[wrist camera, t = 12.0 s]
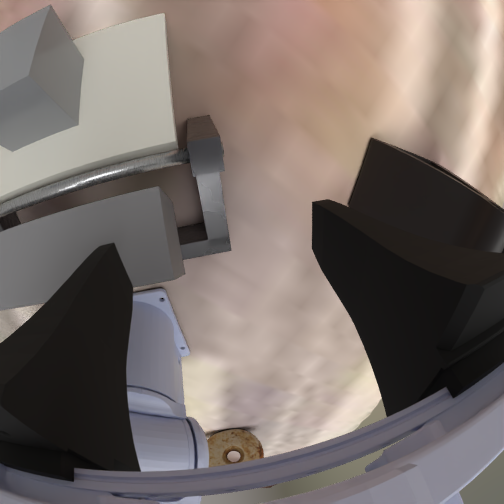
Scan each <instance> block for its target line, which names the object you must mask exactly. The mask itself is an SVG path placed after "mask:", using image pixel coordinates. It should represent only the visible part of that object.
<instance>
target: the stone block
mask: <svg viewBox="0 0 504 504" xmlns="http://www.w3.org/2000/svg"><path fill="white" fill-rule="evenodd" d="M83 66H84V58H83V56H82V55H81V53H80V52H79V50H78V49H77V47H76V45H75V44H74V42H73V40H72V39H71V37H70V36H69V34H68V32H67V31H66V29H65V27H64V26H63V24H62V23H61V21H60V19H59V18H58V16H57V14H56V13H55V11H54V9H53V7H52V6H51V5H49V6H47V7H45V8H43V9H41V10H39V11H37V12H35V13H33V14H31V15H29V16H28V17H26V18H24V19H22V20H20V21H19V22H17V23H15V24H14V25H12V26H10V27H9V28H7V29H5V30H4V31H2V32H1V33H0V146H2V147H4V148H6V149H8V150H10V151H12V152H14V151H16V150H18V149H20V148H22V147H25V146H27V145H29V144H31V143H34V142H36V141H38V140H41V139H43V138H46V137H48V136H51V135H53V134H56V133H58V132H61V131H64V130H66V129H69V128H72V127H75V126H78V125H79V108H80V94H81V83H82V74H83Z"/></svg>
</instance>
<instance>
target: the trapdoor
mask: <svg viewBox="0 0 504 504" xmlns="http://www.w3.org/2000/svg"><path fill="white" fill-rule="evenodd" d="M73 42H74V44H75V45H76V47H77V49H78V50H79V52H80V53H81V55H82V56H83V58H84V66H83V74H82V83H81V94H80V108H79V125H78V126H75V127H72V128H69V129H66V130H64V131H61V132H58V133H56V134H53V135H51V136H48V137H46V138H43V139H41V140H38V141H36V142H34V143H31V144H29V145H27V146H25V147H22V148H20V149H18V150H16V151H14V152H12V151H10V150H8V149H6V148H4V147H2V146H0V204H1V203H3V202H6V201H8V200H10V199H13V198H15V197H18V196H20V195H23V194H25V193H28V192H30V191H33V190H36V189H38V188H41V187H44V186H46V185H49V184H52V183H55V182H58V181H61V180H64V179H67V178H70V177H73V176H76V175H79V174H82V173H85V172H89V171H92V170H95V169H99V168H102V167H106V166H109V165H113V164H117V163H120V162H124V161H128V160H132V159H136V158H140V157H144V156H148V155H153V154H157V153H162V152H166V151H171V150H176V149H179V148H178V140H177V133H176V125H175V116H174V108H173V98H172V89H171V79H170V68H169V56H168V43H167V28H166V19H165V14H164V13H162V14H157V15H152V16H148V17H144V18H140V19H136V20H132V21H128V22H125V23H121V24H118V25H115V26H111V27H108V28H105V29H102V30H99V31H96V32H93V33H91V34H88V35H85V36H82V37H80V38H77V39H75V40H73ZM109 243H115V246H116V248H117V251H118V253H119V255H120V258H121V260H122V262H123V265H124V267H125V269H126V272H127V274H128V276H129V278H130V281H131V283H132V285H133V287H138V286H144V285H149V284H154V283H160V282H165V281H171V280H175V279H177V278H179V277H181V276H182V275H184V274H185V269H184V264H183V259H182V254H181V248H180V243H179V237H178V231H177V225H176V219H175V213H174V207H173V202H172V201H171V200H170V199H169V198H168V196H167V195H166V194H165V193H164V192H163V191H162V189H161V188H160V187H159V186H157V187H152V188H148V189H143V190H139V191H135V192H131V193H127V194H123V195H119V196H115V197H111V198H107V199H103V200H99V201H96V202H92V203H88V204H85V205H81V206H78V207H74V208H71V209H68V210H64V211H61V212H58V213H54V214H51V215H48V216H45V217H42V218H39V219H36V220H33V221H30V222H27V223H24V224H21V225H18V226H15V227H12V228H10V229H7V230H4V231H1V232H0V310H6V309H13V308H19V307H25V306H30V305H36V304H42V303H46V302H47V301H48V300H49V299H50V298H51V297H52V296H53V294H54V293H55V292H56V291H57V290H58V289H59V288H60V287H61V286H62V285H63V284H64V283H65V281H66V280H67V279H68V278H69V277H70V276H71V275H72V274H73V272H74V271H75V270H76V269H77V268H78V267H79V266H80V265H81V264H82V263H83V261H84V260H85V259H86V258H87V257H88V256H89V255H90V254H91V253H92V252H93V251H94V250H95V249H96V248H98V247H99V246H101V245H105V244H109Z"/></svg>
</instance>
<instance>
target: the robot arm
mask: <svg viewBox="0 0 504 504" xmlns="http://www.w3.org/2000/svg"><path fill="white" fill-rule="evenodd" d="M312 250H313V252H314V254H315V257H316V259H317V261H318V263H319V265H320V268H321V270H322V271H323V273H324V275H325V276H326V278H327V280H328V281H329V283H330V284H331V286H332V288H333V289H334V291H335V292H336V294H337V296H338V297H339V299H340V300H341V302H342V304H343V305H344V307H345V308H346V310H347V312H348V313H349V315H350V317H351V319H352V321H353V323H354V325H355V327H356V329H357V332H358V334H359V336H360V338H361V341H362V343H363V345H364V348H365V350H366V353H367V355H368V358H369V361H370V363H371V366H372V369H373V372H374V375H375V378H376V380H377V383H378V386H379V390H380V393H381V397H382V400H383V404H384V407H385V411H386V415H387V418H384V419H382V420H380V421H378V422H375V423H373V424H370V425H368V426H366V427H363V428H361V429H358V430H355V431H353V432H350V433H347V434H345V435H342V436H339V437H336V438H333V439H330V440H327V441H324V442H321V443H318V444H315V445H312V446H308V447H305V448H301V449H298V450H294V451H290V452H286V453H283V454H278V455H274V456H270V457H266V458H261V459H256V460H251V461H246V462H240V463H234V464H228V465H222V466H214V467H209V450H208V443H207V439H206V436H205V433H204V431H203V429H202V428H201V426H200V425H199V423H198V422H197V421H196V420H195V419H194V418H192V417H186V409H185V405H184V390H183V378H182V363H181V357H184V356H188V355H190V350H189V348H188V345H187V343H186V341H185V338H184V336H183V333H182V331H181V329H180V326H179V324H178V321H177V319H176V316H175V314H174V311H173V309H172V306H171V303H170V301H169V298H168V295H167V293H166V291H165V290H164V289H154V290H148V291H143V292H137V293H133V285H132V283H131V281H130V278H129V276H128V274H127V272H126V269H125V267H124V265H123V262H122V260H121V258H120V255H119V253H118V251H117V248H116V246H115V243H109V244H105V245H101V246H99V247H98V248H96V249H95V250H94V251H93V252H92V253H91V254H90V255H89V256H88V257H87V258H86V259H85V260H84V261H83V263H82V264H81V265H80V266H79V267H78V268H77V269H76V270H75V271H74V272H73V274H72V275H71V276H70V277H69V278H68V279H67V280H66V281H65V283H64V284H63V285H62V286H61V287H60V288H59V289H58V290H57V291H56V292H55V293H54V294H53V296H52V297H51V298H50V299H49V300H48V301H47V302H46V303H45V304H44V305H43V306H42V307H41V308H40V309H39V310H38V311H37V312H36V313H35V314H34V315H33V316H32V317H31V318H30V319H29V320H28V321H26V322H25V323H24V324H23V325H22V326H21V327H19V328H18V329H17V330H16V331H15V332H14V333H13V334H11V335H10V336H9V337H8V338H7V339H5V340H4V341H3V342H2V343H0V504H200V502H201V496H205V495H214V494H222V493H231V492H237V491H243V490H249V489H254V488H260V487H265V486H270V485H274V484H279V483H283V482H287V481H291V480H294V479H298V478H302V477H306V476H309V475H312V474H316V473H319V472H322V471H325V470H328V469H331V468H334V467H337V466H340V465H343V464H345V463H348V462H351V461H353V460H356V459H358V458H361V457H363V456H366V455H368V454H370V453H373V452H375V451H378V450H380V449H382V448H384V447H386V446H389V445H391V444H393V443H395V442H397V441H399V440H401V439H403V438H404V439H403V440H401V441H399V442H398V443H396V444H394V445H392V446H391V447H389V448H387V449H385V450H384V452H383V454H382V456H380V457H379V458H378V459H377V460H375V461H374V462H372V463H370V464H369V465H367V466H366V468H365V471H366V473H364V474H361V475H359V476H356V477H353V478H350V479H347V480H344V481H342V482H339V483H336V484H333V485H329V486H326V487H323V488H320V489H317V490H313V491H310V492H306V493H303V494H299V495H295V496H291V497H287V498H283V499H278V500H274V501H269V502H264V503H259V504H464V503H463V500H462V498H461V496H460V493H459V491H460V490H461V489H462V488H464V487H465V486H466V485H467V484H468V483H469V482H471V481H472V480H473V479H474V478H475V477H476V476H477V475H479V474H480V473H481V472H482V471H483V470H484V469H485V468H486V467H487V466H488V465H489V464H490V463H491V462H492V461H493V460H494V459H495V458H496V457H497V456H498V455H499V454H500V453H501V452H502V451H503V450H504V253H497V252H487V251H480V250H474V249H468V248H463V247H458V246H454V245H449V244H446V243H442V242H438V241H434V240H431V239H427V238H424V237H421V236H418V235H415V234H412V233H409V232H406V231H403V230H401V229H398V228H396V227H393V226H391V225H388V224H386V223H383V222H381V221H379V220H376V219H374V218H372V217H369V216H367V215H365V214H363V213H361V212H358V211H356V210H354V209H352V208H349V207H347V206H345V205H342V204H340V203H337V202H335V201H332V200H328V199H327V200H321V201H315V202H312ZM161 298H164V299H161ZM407 436H408V437H407ZM405 437H406V438H405Z"/></svg>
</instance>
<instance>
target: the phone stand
mask: <svg viewBox="0 0 504 504" xmlns="http://www.w3.org/2000/svg"><path fill="white" fill-rule="evenodd" d="M349 207H350V208H352V209H354V210H356V211H358V212H361V213H363V214H365V215H367V216H369V217H372V218H374V219H376V220H379V221H381V222H383V223H386V224H388V225H391V226H393V227H396V228H398V229H401V230H403V231H406V232H409V233H412V234H415V235H418V236H421V237H424V238H427V239H431V240H434V241H438V242H442V243H446V244H449V245H454V246H458V247H463V248H468V249H474V250H480V251H487V252H497V253H504V209H503V208H501V207H500V206H499V205H497V204H496V203H495V202H493V201H492V200H491V199H489V198H488V197H487V196H485V195H484V194H482V193H481V192H480V191H478V190H477V189H476V188H474V187H473V186H471V185H470V184H468V183H467V182H465V181H464V180H463V179H461V178H460V177H458V176H457V175H455V174H453V173H452V172H450V171H449V170H447V169H446V168H444V167H442V166H441V165H439V164H437V163H434V162H432V161H430V160H428V159H425V158H423V157H421V156H418V155H416V154H413V153H411V152H408V151H406V150H403V149H401V148H398V147H396V146H393V145H390V144H388V143H385V142H382V141H379V140H377V139H374V138H372V139H371V142H370V145H369V148H368V151H367V154H366V158H365V161H364V163H363V166H362V169H361V172H360V175H359V178H358V181H357V184H356V187H355V189H354V192H353V195H352V198H351V200H350V203H349Z"/></svg>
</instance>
